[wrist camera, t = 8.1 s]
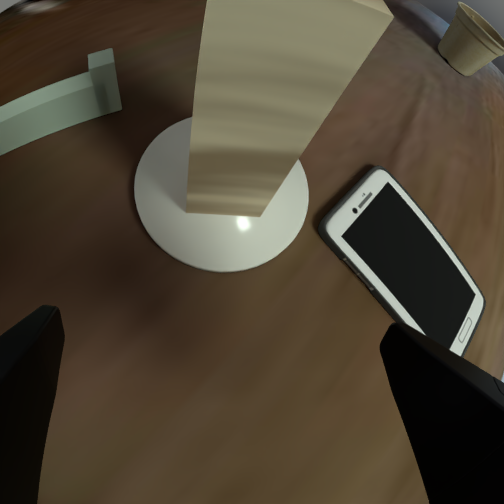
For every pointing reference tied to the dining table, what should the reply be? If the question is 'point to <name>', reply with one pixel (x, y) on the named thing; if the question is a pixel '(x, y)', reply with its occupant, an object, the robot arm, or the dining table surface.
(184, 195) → the coaster
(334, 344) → the dining table surface
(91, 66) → the fence
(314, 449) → the dining table surface
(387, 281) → the cell phone
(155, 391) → the dining table surface
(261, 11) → the beech block
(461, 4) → the flower pot
